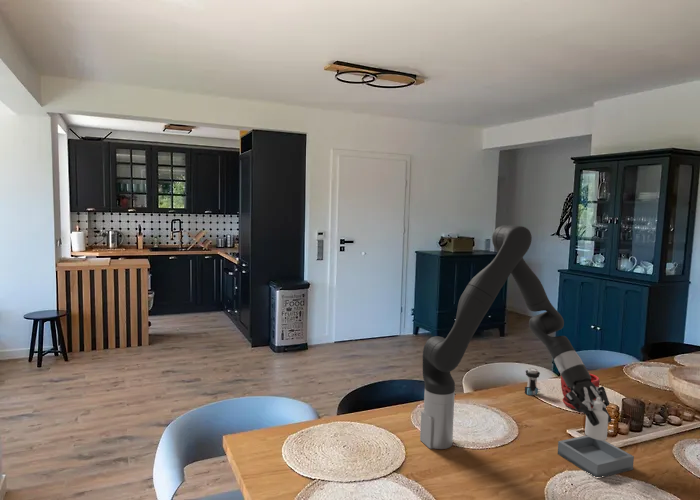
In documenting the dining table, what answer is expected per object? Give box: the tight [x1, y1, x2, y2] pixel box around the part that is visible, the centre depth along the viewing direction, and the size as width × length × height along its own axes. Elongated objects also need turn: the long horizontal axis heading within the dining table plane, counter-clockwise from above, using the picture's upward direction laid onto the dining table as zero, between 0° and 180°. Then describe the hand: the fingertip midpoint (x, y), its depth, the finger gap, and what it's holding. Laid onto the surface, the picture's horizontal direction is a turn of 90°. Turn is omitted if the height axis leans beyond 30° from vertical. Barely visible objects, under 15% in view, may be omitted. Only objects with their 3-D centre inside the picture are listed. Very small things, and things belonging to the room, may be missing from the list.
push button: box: [524, 367, 541, 396], centre depth 190 cm, size 7×5×10 cm
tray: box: [557, 435, 635, 478], centre depth 139 cm, size 14×14×4 cm
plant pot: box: [560, 372, 600, 410], centre depth 179 cm, size 13×13×12 cm
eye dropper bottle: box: [584, 397, 609, 441], centre depth 138 cm, size 4×6×12 cm
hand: (602, 423), depth 136 cm, fingers closed on eye dropper bottle, 4 cm apart
